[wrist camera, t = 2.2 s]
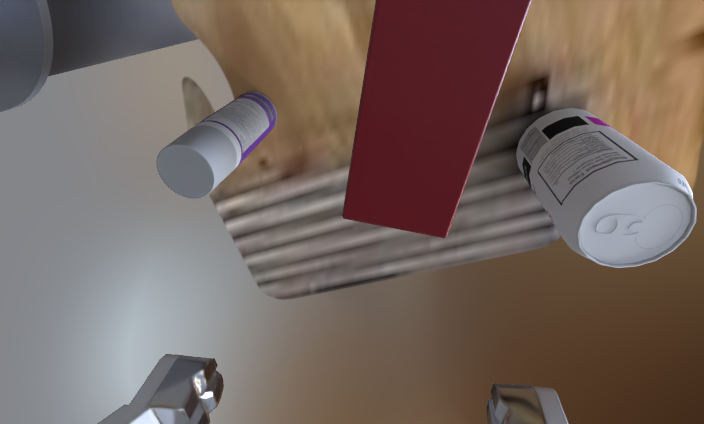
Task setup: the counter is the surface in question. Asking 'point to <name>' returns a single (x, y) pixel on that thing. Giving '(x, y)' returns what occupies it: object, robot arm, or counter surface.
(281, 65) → the counter surface
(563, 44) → the counter surface
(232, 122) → the container
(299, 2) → the counter surface
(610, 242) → the supplement can
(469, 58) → the maroon rod
